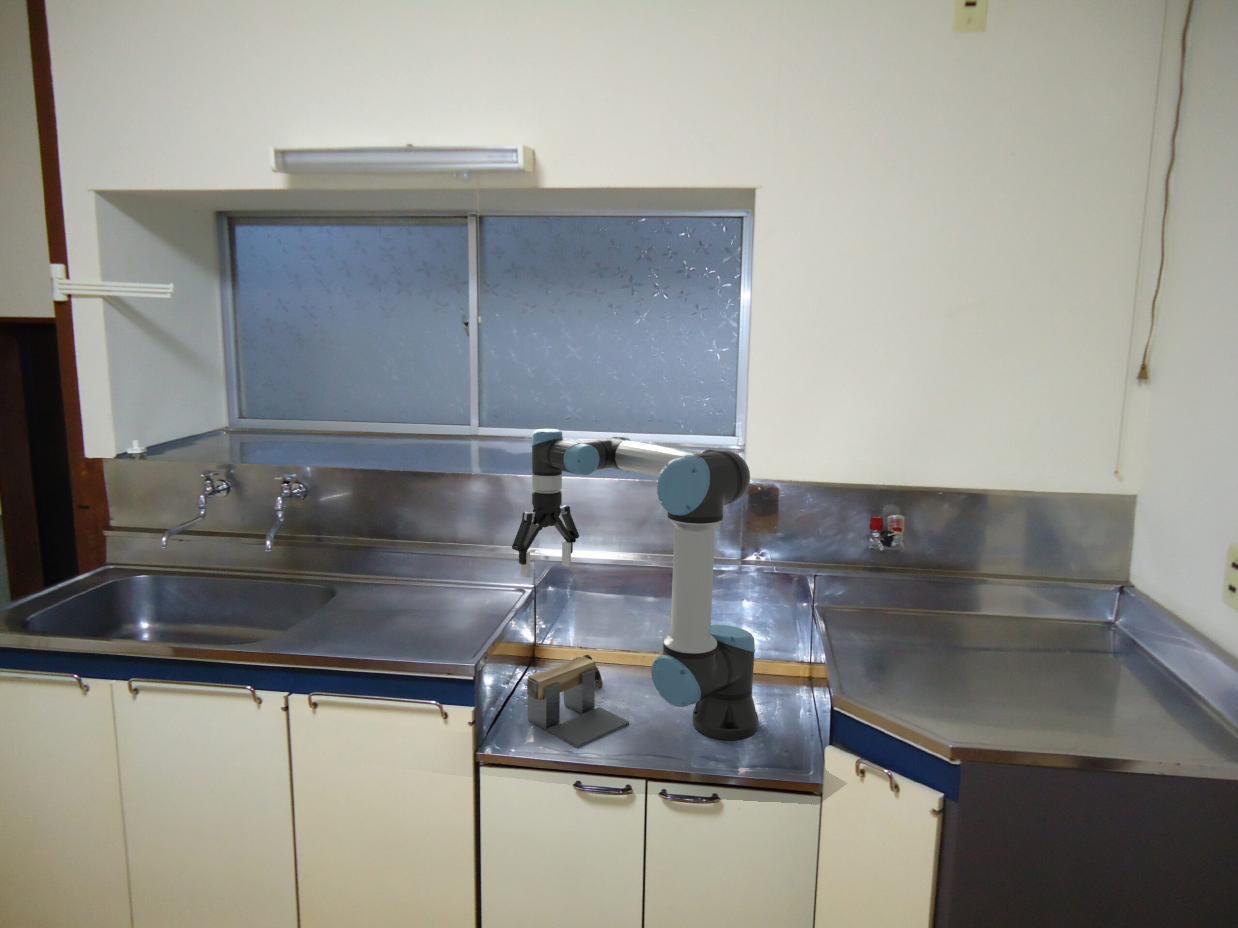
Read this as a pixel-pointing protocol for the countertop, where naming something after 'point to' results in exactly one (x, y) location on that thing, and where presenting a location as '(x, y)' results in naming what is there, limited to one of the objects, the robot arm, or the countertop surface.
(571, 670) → the oak rail
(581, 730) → the mat
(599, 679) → the pottery mug
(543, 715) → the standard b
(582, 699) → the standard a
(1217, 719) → the countertop surface
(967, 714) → the countertop surface
